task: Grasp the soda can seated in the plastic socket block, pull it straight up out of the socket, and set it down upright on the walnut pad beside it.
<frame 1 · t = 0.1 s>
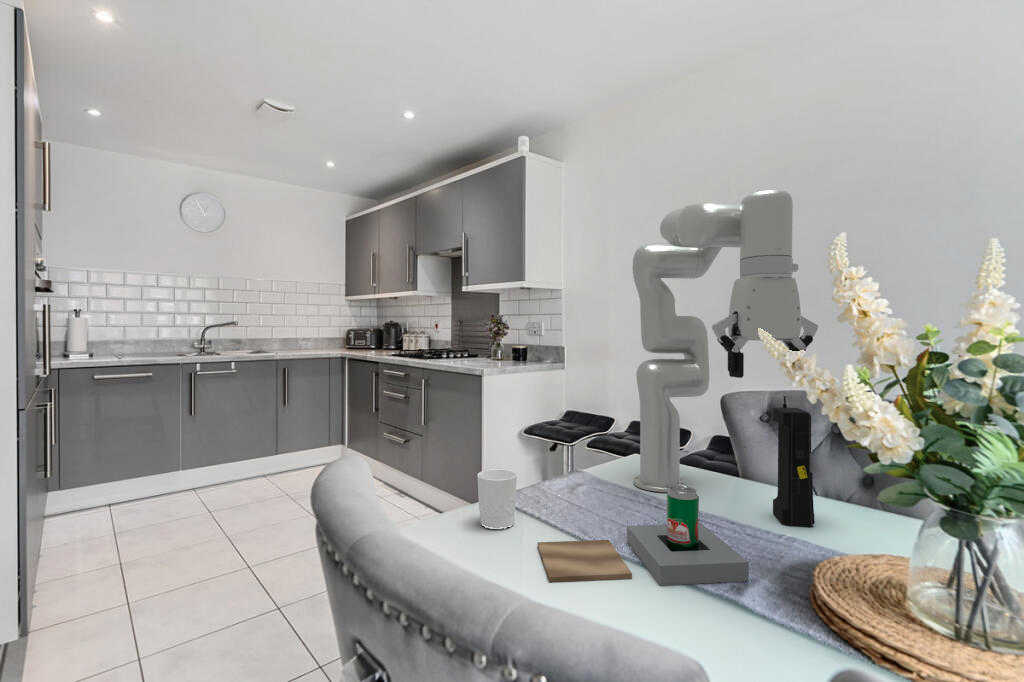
hand: (764, 376, 82), 31 cm above the table, tool pointing down, fingers open, 9 cm apart
walnut pad: (581, 561, 85), on the table
socket block: (682, 560, 85), on the table
soda can: (682, 561, 85), resting in socket block
portable radio: (794, 522, 103), on the table
white cup: (497, 525, 102), on the table
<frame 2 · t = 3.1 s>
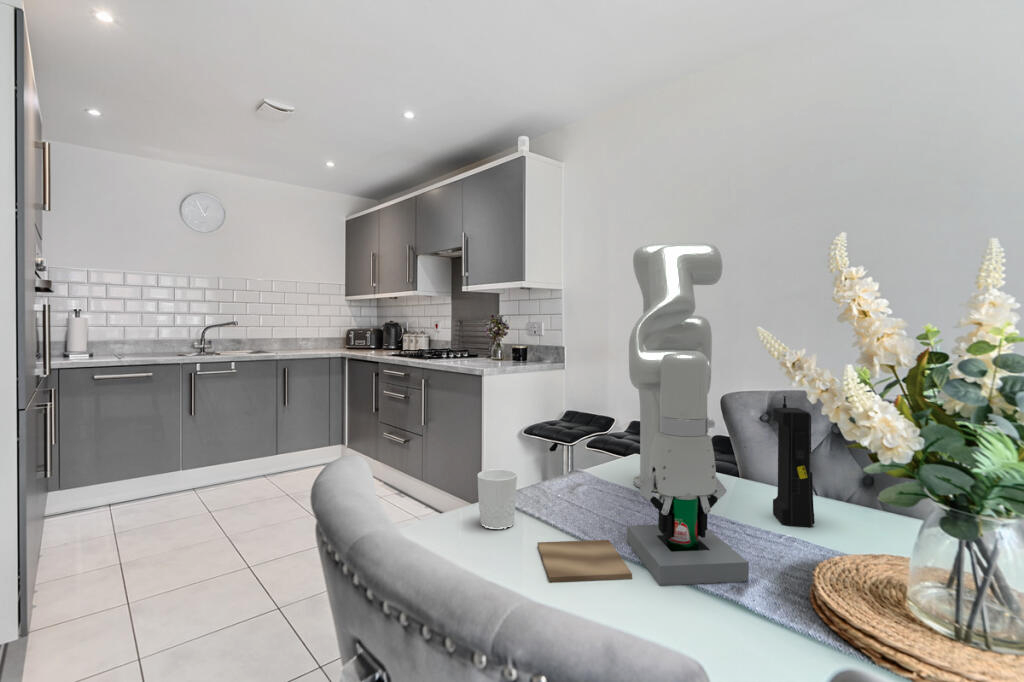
hand: (682, 533, 85), 4 cm above the table, tool pointing down, fingers closed on soda can, 5 cm apart
soda can: (682, 561, 85), resting in socket block, touching gripper
everything else where it was.
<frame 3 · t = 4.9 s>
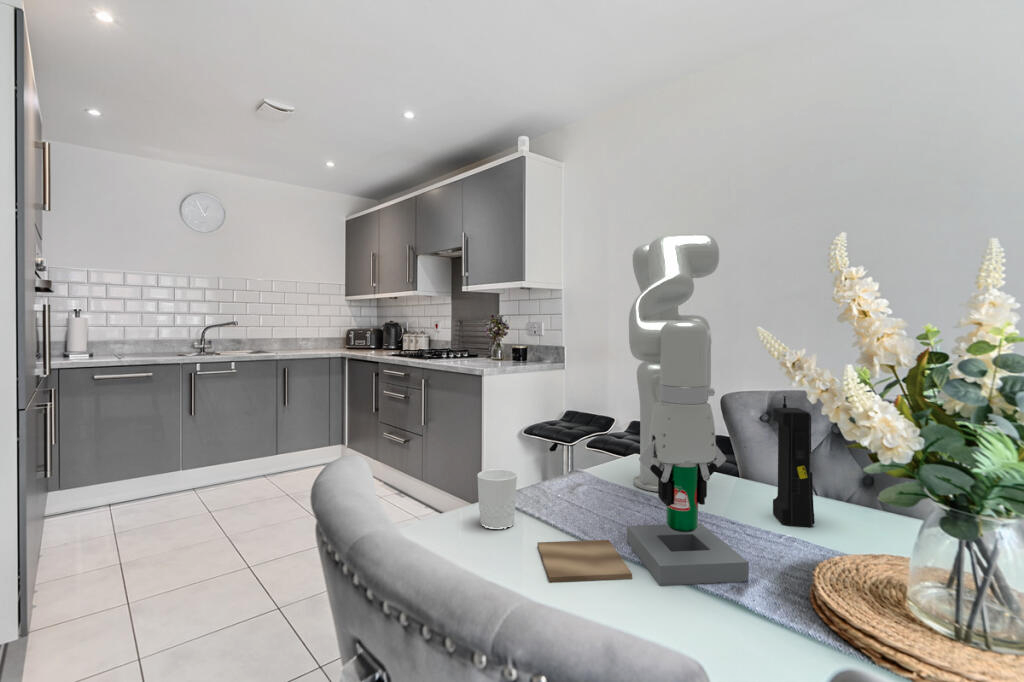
hand: (682, 501, 86), 10 cm above the table, tool pointing down, fingers closed on soda can, 5 cm apart
soda can: (681, 528, 86), point 5 cm above the table, touching gripper
everything else where it was.
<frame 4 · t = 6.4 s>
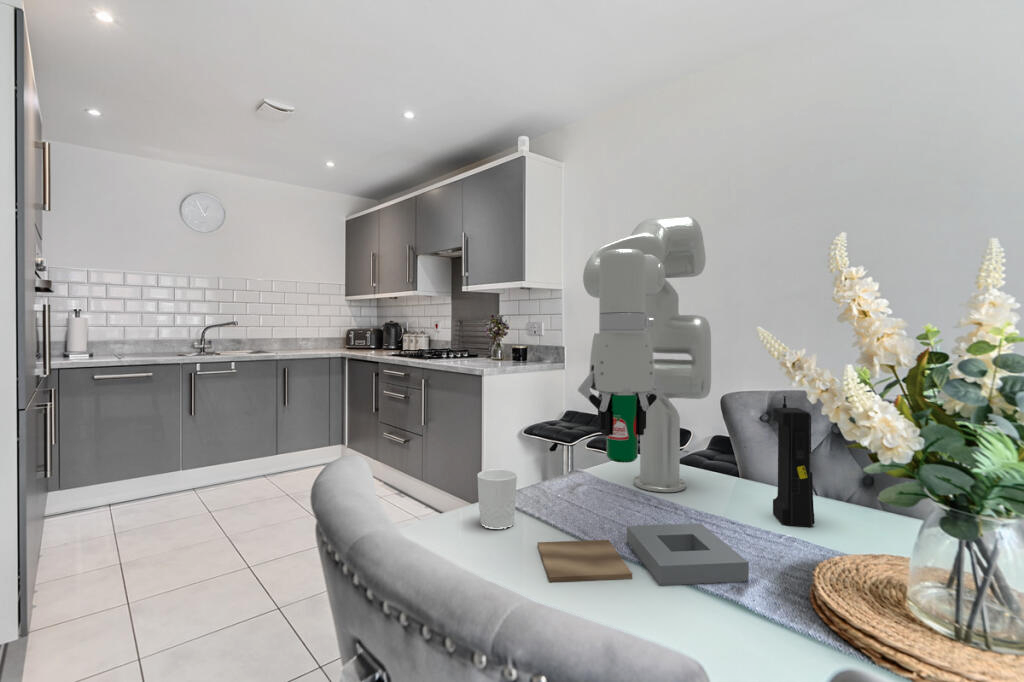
hand: (621, 432, 85), 22 cm above the table, tool pointing down, fingers closed on soda can, 5 cm apart
soda can: (622, 460, 85), point 17 cm above the table, touching gripper
everything else where it was.
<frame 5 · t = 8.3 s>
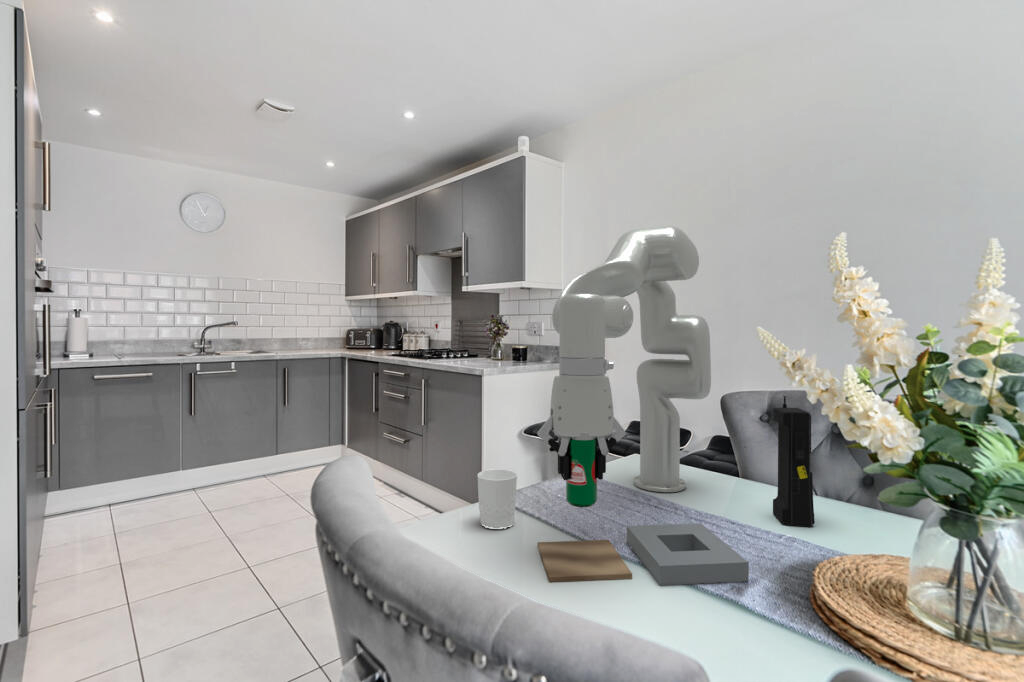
hand: (581, 476, 85), 14 cm above the table, tool pointing down, fingers closed on soda can, 5 cm apart
soda can: (581, 504, 85), point 10 cm above the table, touching gripper
everything else where it was.
when the fingers open (7 cm above the table, at t = 10.0 s): soda can drops 1 cm, resting on walnut pad.
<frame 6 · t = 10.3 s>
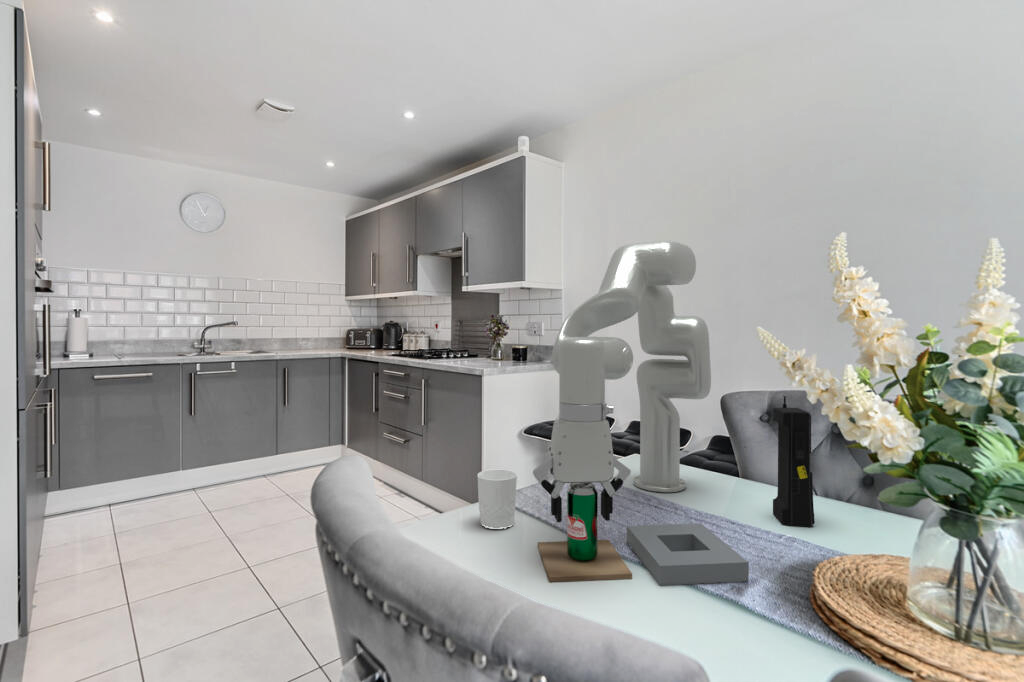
hand: (581, 517, 85), 7 cm above the table, tool pointing down, fingers open, 7 cm apart
soda can: (582, 557, 85), point 1 cm above the table, touching walnut pad
everything else where it was.
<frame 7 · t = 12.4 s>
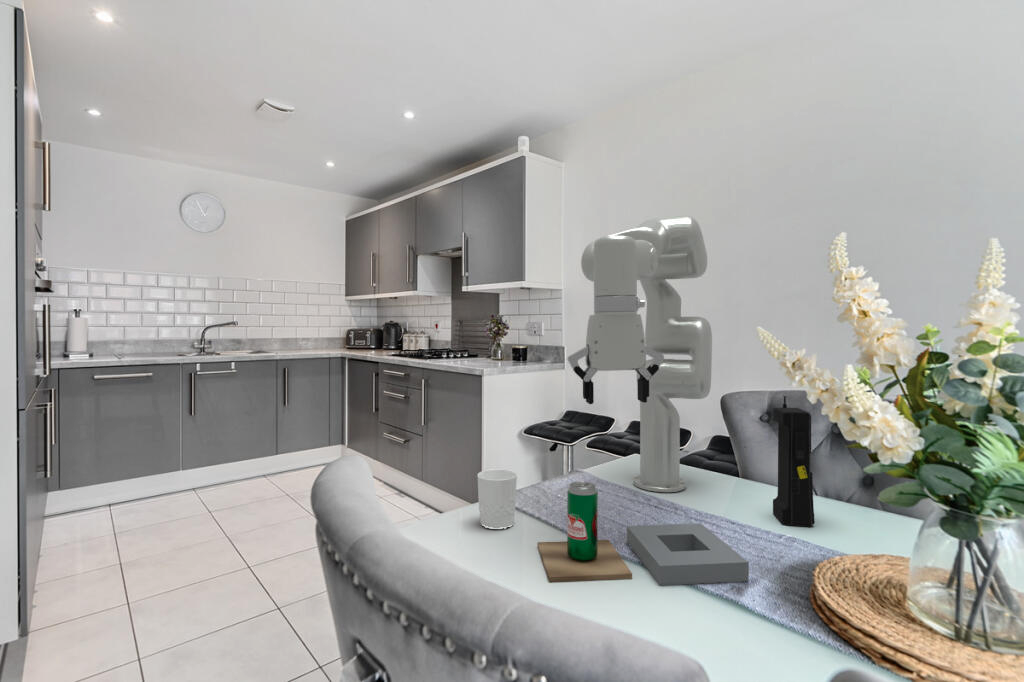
hand: (616, 402, 91), 26 cm above the table, tool pointing down, fingers open, 9 cm apart
nothing on the table moved.
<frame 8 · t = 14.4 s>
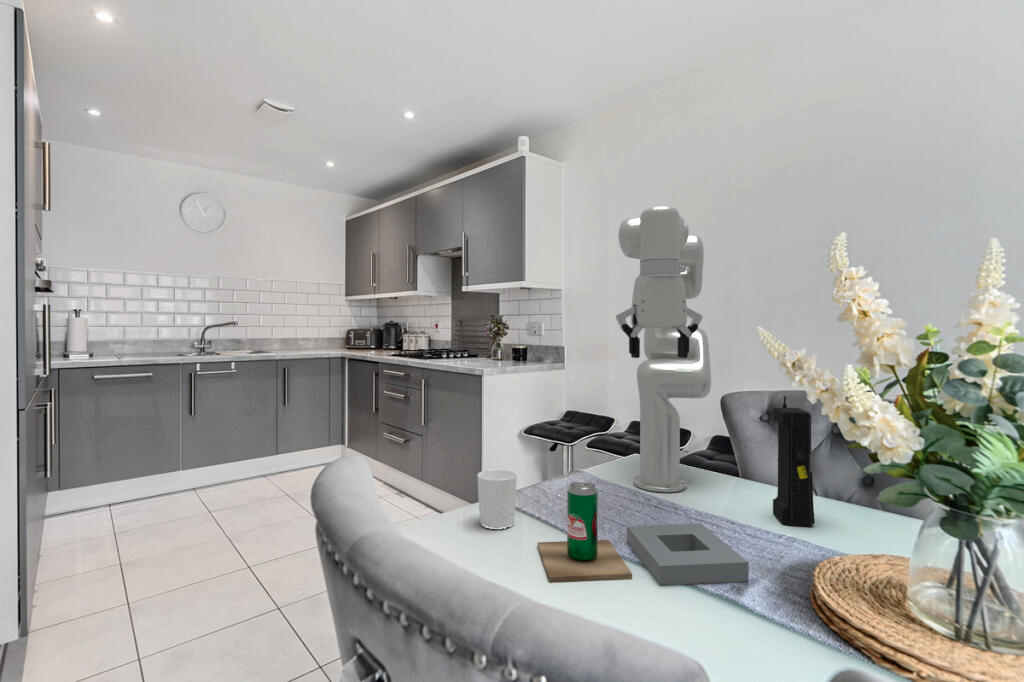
hand: (659, 357, 101), 33 cm above the table, tool pointing down, fingers open, 9 cm apart
nothing on the table moved.
at the end: soda can inside the target area on the walnut pad (0.2 cm from its centre), point 0.6 cm above the walnut pad's base; soda can tilted 0°; the gripper is holding nothing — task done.
